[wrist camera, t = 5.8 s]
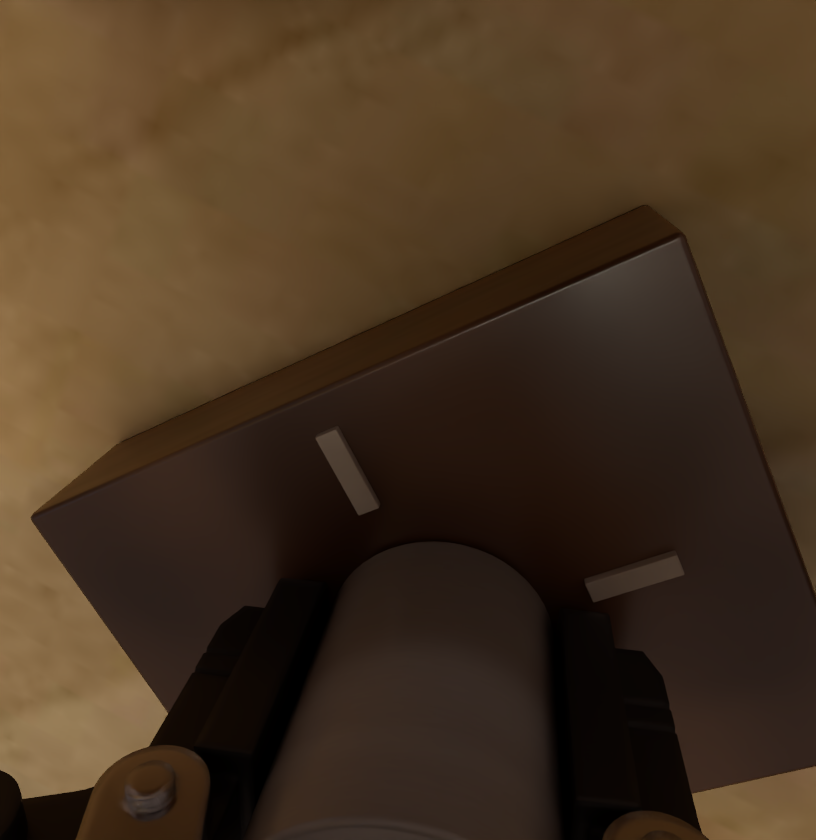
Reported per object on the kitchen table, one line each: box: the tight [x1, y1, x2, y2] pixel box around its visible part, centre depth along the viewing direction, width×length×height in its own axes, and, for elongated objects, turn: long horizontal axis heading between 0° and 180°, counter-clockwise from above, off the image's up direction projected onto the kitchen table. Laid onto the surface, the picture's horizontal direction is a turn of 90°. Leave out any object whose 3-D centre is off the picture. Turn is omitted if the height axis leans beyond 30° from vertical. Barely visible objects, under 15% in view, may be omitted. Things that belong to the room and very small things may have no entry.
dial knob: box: [242, 541, 565, 840], centre depth 10 cm, size 4×4×5 cm
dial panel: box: [31, 206, 816, 794], centre depth 14 cm, size 11×9×3 cm
